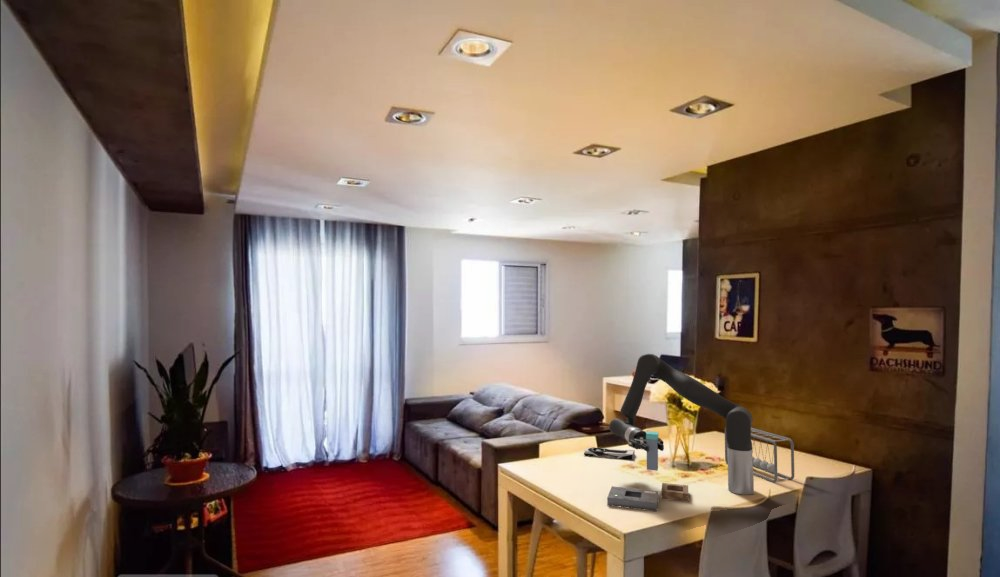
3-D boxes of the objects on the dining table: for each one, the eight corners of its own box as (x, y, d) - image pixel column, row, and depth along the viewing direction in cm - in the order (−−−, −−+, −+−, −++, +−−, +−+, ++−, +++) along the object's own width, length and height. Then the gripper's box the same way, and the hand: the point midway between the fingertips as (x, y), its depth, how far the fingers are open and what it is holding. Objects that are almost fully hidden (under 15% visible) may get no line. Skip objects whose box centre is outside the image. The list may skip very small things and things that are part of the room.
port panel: (658, 498, 209) (658, 490, 209) (656, 511, 197) (656, 502, 197) (611, 493, 215) (611, 485, 215) (607, 505, 203) (607, 496, 203)
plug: (658, 467, 211) (658, 431, 212) (657, 470, 207) (657, 434, 207) (647, 466, 213) (646, 431, 213) (646, 469, 209) (646, 433, 209)
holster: (688, 492, 215) (688, 485, 215) (688, 501, 206) (688, 493, 206) (662, 490, 219) (662, 482, 219) (661, 498, 209) (661, 491, 209)
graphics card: (634, 454, 260) (583, 450, 269) (634, 461, 260) (583, 456, 269) (636, 449, 269) (587, 445, 278) (636, 456, 269) (587, 451, 278)
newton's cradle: (724, 464, 254) (724, 426, 254) (742, 461, 257) (741, 424, 258) (776, 484, 225) (775, 441, 226) (795, 481, 229) (794, 439, 229)
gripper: (620, 429, 223) (637, 439, 206) (652, 427, 226) (672, 438, 209) (620, 447, 223) (638, 459, 206) (652, 445, 225) (672, 457, 209)
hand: (655, 448), depth 208 cm, fingers closed on plug, 5 cm apart
